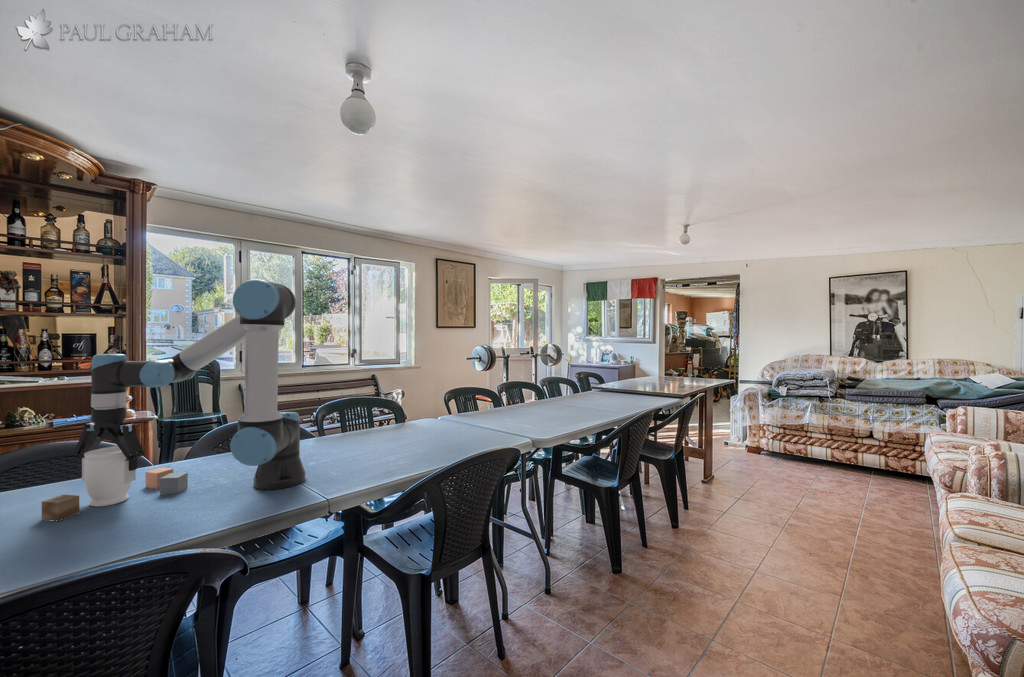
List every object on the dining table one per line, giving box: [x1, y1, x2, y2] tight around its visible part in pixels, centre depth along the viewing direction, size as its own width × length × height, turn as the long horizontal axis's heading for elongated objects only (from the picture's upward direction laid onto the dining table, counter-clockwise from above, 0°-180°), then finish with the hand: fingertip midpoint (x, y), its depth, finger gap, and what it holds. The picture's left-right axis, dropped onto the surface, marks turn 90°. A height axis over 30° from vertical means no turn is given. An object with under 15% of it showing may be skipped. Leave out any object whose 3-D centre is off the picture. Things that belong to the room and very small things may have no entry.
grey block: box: [159, 472, 189, 495], centre depth 137 cm, size 5×5×5 cm
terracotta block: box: [145, 466, 174, 490], centre depth 142 cm, size 5×5×5 cm
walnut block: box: [41, 494, 80, 522], centre depth 118 cm, size 5×5×5 cm
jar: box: [84, 446, 132, 508], centre depth 128 cm, size 11×10×15 cm
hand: (108, 480), depth 128 cm, fingers open, 13 cm apart
